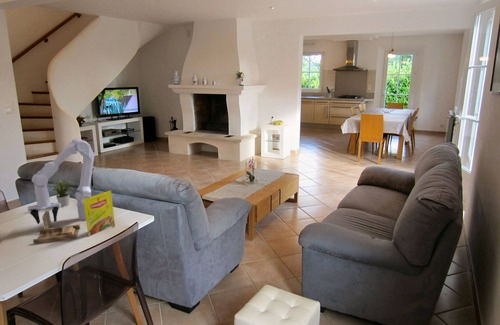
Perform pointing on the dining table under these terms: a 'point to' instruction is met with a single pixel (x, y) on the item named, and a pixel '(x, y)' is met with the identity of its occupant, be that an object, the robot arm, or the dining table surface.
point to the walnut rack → (55, 234)
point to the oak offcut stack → (68, 231)
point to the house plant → (62, 193)
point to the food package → (99, 212)
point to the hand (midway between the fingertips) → (47, 222)
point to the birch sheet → (46, 220)
